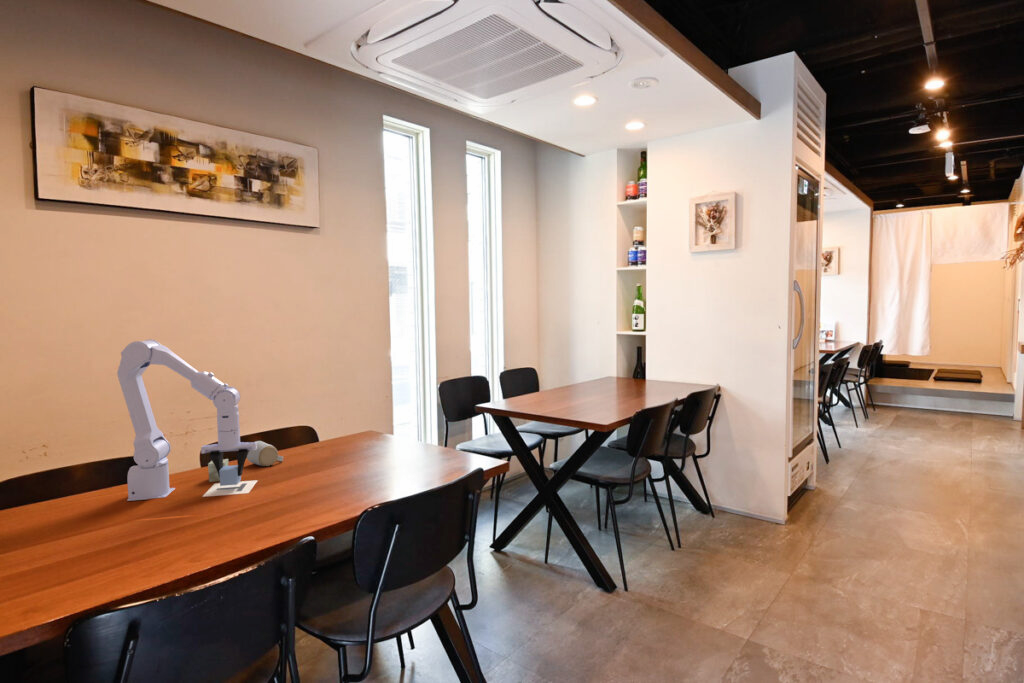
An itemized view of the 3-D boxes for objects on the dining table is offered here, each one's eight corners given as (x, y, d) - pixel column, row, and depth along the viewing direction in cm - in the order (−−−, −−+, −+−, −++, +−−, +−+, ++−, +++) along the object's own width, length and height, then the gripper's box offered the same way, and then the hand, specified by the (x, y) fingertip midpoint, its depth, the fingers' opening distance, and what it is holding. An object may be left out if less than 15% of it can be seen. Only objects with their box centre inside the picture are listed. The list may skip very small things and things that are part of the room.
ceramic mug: (259, 469, 183) (259, 446, 182) (246, 465, 187) (245, 442, 187) (288, 462, 191) (288, 440, 191) (275, 458, 196) (274, 437, 196)
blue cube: (220, 485, 160) (219, 470, 159) (224, 481, 164) (223, 466, 164) (237, 484, 161) (236, 469, 160) (241, 479, 165) (240, 464, 165)
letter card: (202, 498, 156) (202, 496, 156) (215, 484, 167) (214, 483, 167) (248, 494, 158) (248, 493, 158) (257, 481, 170) (257, 480, 170)
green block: (209, 483, 169) (208, 463, 168) (213, 478, 173) (212, 459, 173) (225, 482, 170) (224, 462, 170) (229, 477, 174) (228, 458, 174)
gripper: (258, 425, 167) (260, 469, 168) (205, 428, 164) (207, 473, 165) (253, 430, 160) (255, 476, 161) (197, 433, 157) (200, 480, 158)
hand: (230, 475), depth 163 cm, fingers closed on blue cube, 4 cm apart
